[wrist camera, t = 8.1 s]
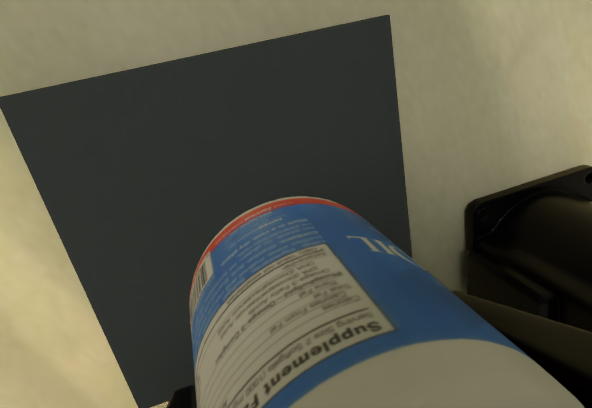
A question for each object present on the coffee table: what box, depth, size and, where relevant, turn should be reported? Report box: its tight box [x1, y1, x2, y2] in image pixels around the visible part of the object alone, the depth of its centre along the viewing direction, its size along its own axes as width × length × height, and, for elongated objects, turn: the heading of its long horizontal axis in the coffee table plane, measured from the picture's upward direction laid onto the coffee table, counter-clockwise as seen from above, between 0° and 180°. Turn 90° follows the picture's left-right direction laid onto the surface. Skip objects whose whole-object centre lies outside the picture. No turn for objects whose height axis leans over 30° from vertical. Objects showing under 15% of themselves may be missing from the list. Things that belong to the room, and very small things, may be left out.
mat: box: [0, 15, 412, 408], centre depth 15 cm, size 12×12×1 cm
